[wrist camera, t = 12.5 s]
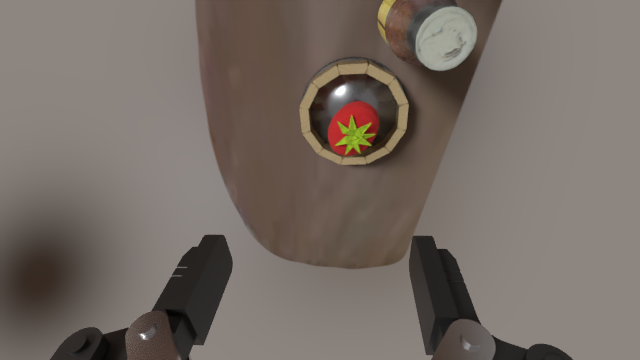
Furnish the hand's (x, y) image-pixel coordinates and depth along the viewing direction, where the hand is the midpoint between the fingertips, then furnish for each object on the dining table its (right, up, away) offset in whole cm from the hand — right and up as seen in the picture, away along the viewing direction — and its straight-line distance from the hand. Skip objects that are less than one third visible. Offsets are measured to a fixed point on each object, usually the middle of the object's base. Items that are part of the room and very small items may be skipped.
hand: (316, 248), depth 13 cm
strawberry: (+5, +13, +30) cm, 33 cm away
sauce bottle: (+10, +23, +24) cm, 35 cm away
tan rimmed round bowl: (+5, +13, +31) cm, 34 cm away
